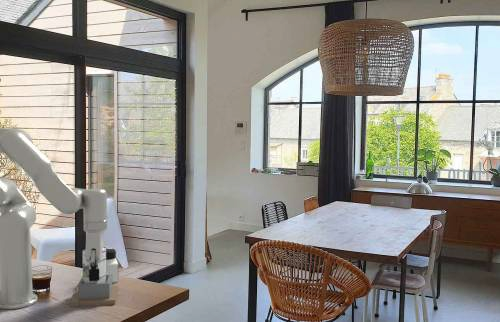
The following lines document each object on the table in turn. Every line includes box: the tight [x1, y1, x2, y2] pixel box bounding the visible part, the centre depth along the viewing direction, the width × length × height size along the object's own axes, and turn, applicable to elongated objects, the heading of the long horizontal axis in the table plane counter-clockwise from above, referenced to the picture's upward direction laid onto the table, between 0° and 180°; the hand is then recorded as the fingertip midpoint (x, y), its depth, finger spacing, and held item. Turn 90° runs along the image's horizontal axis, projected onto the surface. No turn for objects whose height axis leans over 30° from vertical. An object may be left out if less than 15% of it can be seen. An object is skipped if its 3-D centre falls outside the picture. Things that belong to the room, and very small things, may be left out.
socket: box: [70, 274, 120, 307], centre depth 168 cm, size 14×14×6 cm
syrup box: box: [82, 247, 107, 283], centre depth 168 cm, size 6×6×14 cm
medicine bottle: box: [106, 247, 119, 284], centre depth 187 cm, size 7×7×12 cm
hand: (95, 276), depth 168 cm, fingers closed on syrup box, 7 cm apart
